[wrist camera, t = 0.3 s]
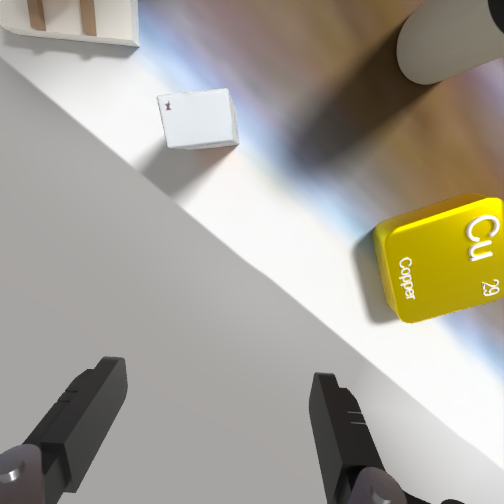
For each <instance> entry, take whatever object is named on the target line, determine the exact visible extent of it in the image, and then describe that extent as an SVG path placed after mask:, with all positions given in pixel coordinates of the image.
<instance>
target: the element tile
mask: <svg viewBox="0 0 504 504" xmlns="http://www.w3.org/2000/svg"><path fill="white" fill-rule="evenodd" d="M372 236H373V243H374V248H375V252H376V257H377V261H378V266H379V270H380V275H381V279H382V283H383V288H384V292H385V297H386V301H387V304H388V305H389V307H390V308H391V309H392V310H393V311H394V312H395V313H396V315H397V316H398V317H399V318H400V319H401V320H402V321H403V322H406V323H417V322H421V321H424V320H428V319H431V318H435V317H439V316H442V315H446V314H449V313H453V312H457V311H460V310H464V309H468V308H471V307H475V306H478V305H482V304H486V303H489V302H493V301H496V300H498V299H500V298H502V297H503V296H504V202H503V200H501V199H500V198H498V197H493V196H487V195H482V194H476V193H466V194H463V195H460V196H457V197H454V198H451V199H448V200H445V201H442V202H439V203H436V204H433V205H430V206H427V207H424V208H421V209H418V210H415V211H412V212H409V213H406V214H402V215H399V216H396V217H393V218H390V219H387V220H385V221H383V222H381V223H379V224H378V225H377V226H376V227H375V229H374V231H373V235H372Z"/></svg>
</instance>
